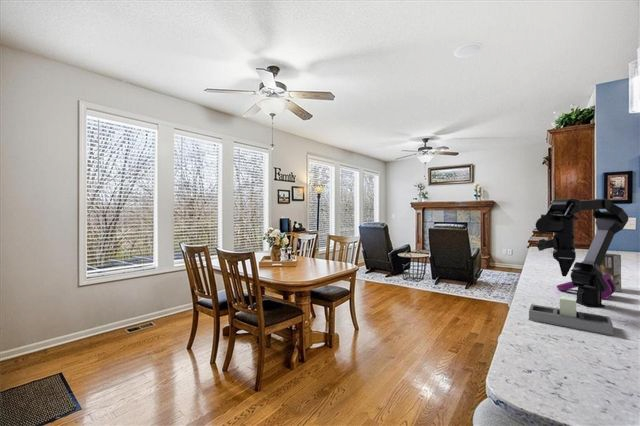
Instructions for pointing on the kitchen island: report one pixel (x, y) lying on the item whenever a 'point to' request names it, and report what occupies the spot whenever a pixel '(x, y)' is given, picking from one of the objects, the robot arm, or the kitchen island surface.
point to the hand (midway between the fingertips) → (564, 274)
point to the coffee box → (612, 268)
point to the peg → (568, 306)
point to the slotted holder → (572, 319)
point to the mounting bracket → (607, 293)
